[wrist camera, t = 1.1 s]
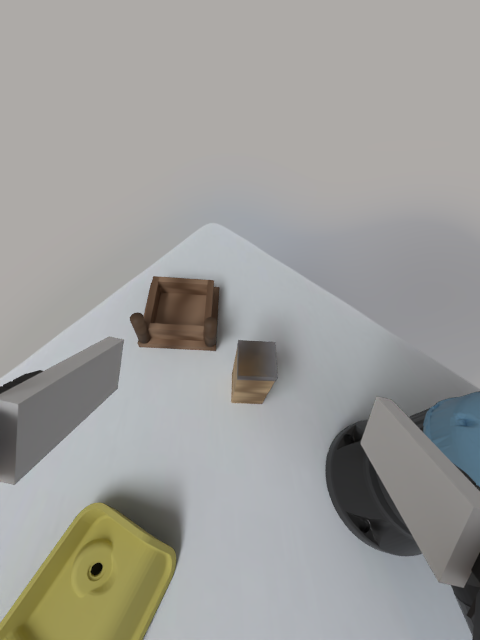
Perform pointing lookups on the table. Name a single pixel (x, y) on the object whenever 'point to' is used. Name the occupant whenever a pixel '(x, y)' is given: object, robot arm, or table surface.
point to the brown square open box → (179, 315)
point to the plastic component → (94, 583)
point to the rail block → (253, 371)
